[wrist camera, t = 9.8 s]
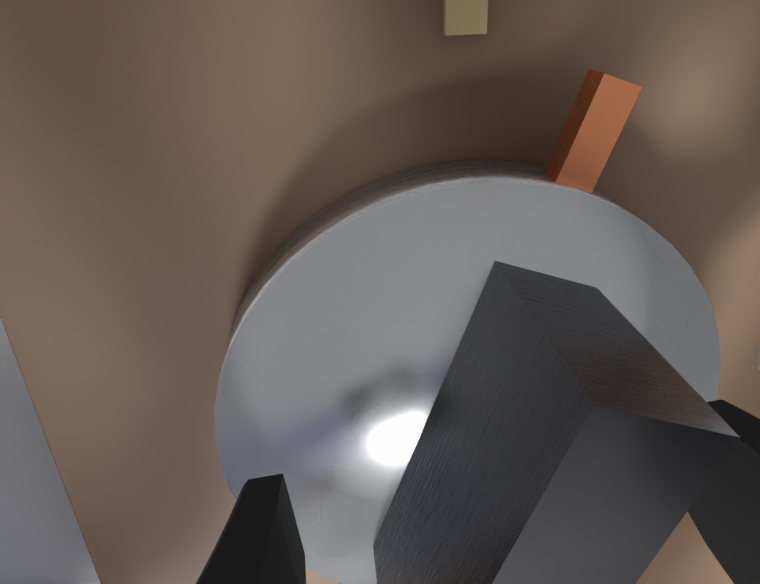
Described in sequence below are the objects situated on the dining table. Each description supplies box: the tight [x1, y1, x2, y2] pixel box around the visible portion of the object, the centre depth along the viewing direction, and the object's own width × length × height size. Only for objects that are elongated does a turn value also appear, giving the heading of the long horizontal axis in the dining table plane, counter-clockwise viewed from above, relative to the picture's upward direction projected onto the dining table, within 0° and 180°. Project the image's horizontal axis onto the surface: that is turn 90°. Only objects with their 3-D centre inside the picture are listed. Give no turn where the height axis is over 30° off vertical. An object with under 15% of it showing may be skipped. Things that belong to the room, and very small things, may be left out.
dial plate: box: [0, 0, 760, 584], centre depth 14 cm, size 18×18×2 cm
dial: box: [214, 69, 740, 584], centre depth 10 cm, size 12×10×6 cm
